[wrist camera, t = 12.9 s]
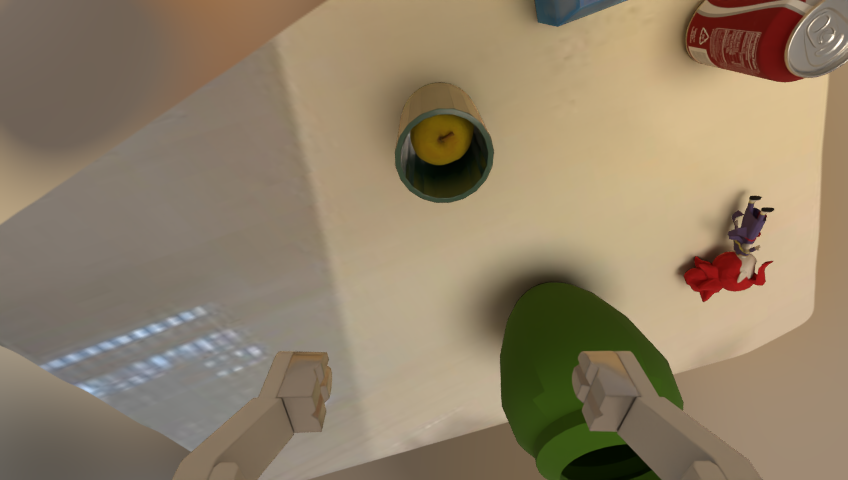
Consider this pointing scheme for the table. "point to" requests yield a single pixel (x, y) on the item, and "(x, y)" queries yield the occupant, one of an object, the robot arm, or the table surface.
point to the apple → (441, 138)
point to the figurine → (733, 258)
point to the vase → (570, 382)
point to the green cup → (456, 175)
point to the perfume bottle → (569, 9)
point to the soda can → (770, 37)
